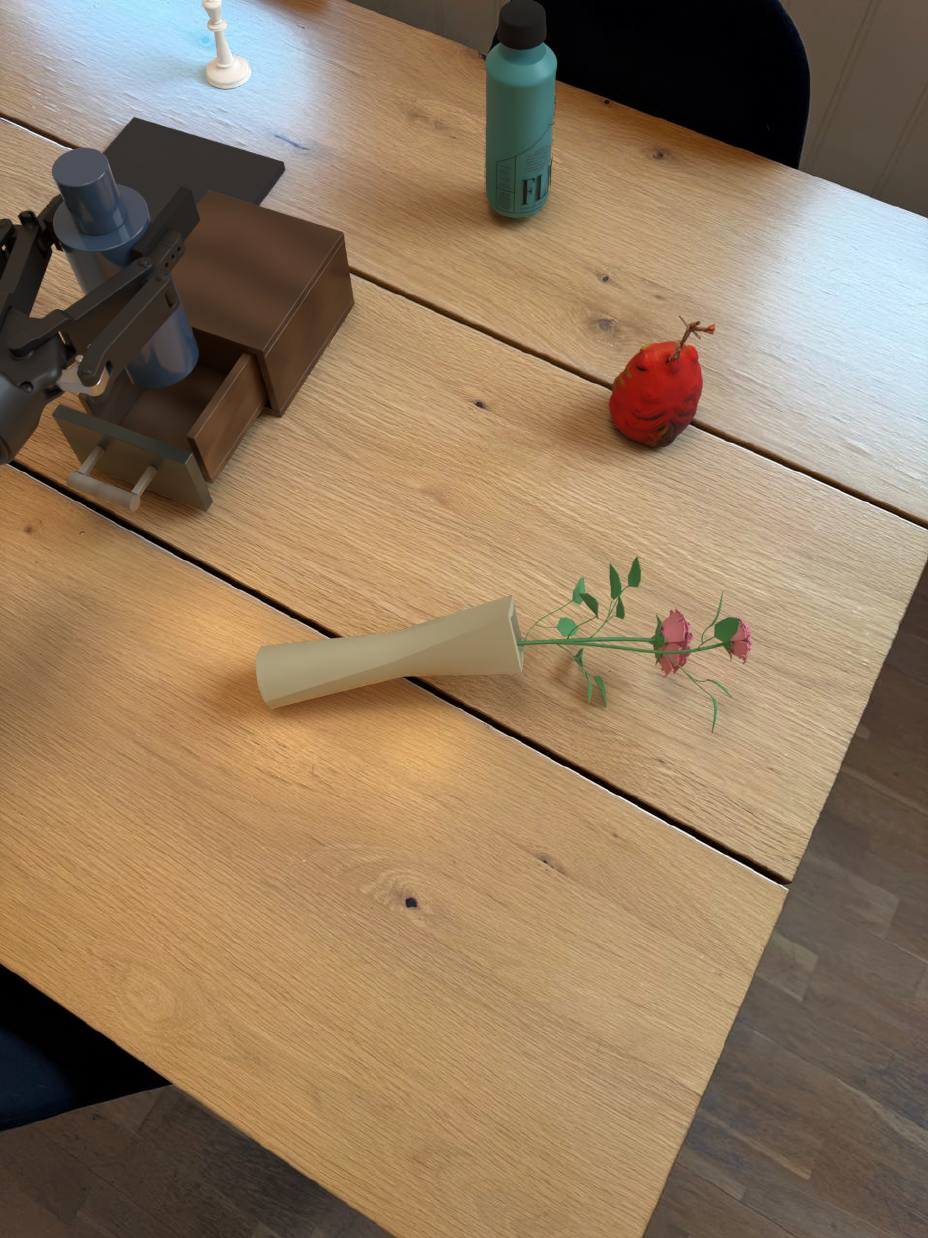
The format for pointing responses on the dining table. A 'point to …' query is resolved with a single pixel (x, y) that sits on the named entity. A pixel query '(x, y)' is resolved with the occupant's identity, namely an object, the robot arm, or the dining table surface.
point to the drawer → (167, 429)
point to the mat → (186, 166)
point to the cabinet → (265, 288)
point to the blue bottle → (116, 256)
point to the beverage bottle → (519, 111)
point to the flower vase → (469, 648)
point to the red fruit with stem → (659, 390)
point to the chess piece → (223, 53)
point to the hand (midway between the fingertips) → (147, 189)
